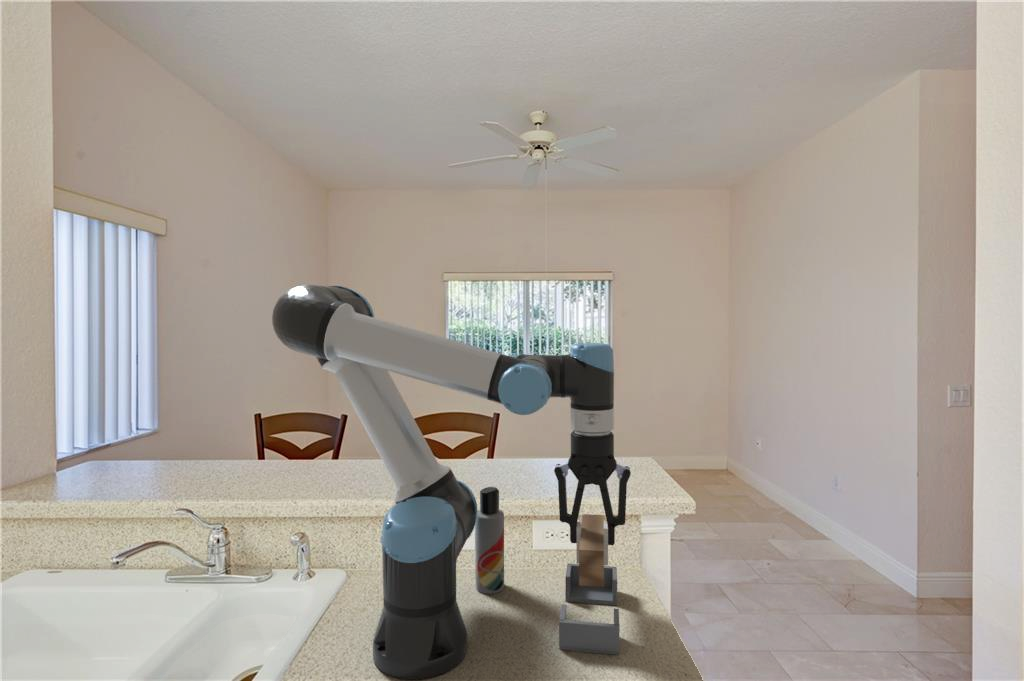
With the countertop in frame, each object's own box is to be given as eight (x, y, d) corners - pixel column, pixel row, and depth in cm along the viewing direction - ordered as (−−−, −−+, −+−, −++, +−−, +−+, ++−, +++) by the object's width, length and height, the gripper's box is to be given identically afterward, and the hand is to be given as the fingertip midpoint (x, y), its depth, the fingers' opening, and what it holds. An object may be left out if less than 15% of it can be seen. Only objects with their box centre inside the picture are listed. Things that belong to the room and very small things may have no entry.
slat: (579, 585, 93) (579, 549, 93) (582, 544, 109) (582, 514, 109) (603, 586, 93) (603, 551, 92) (603, 545, 109) (603, 515, 108)
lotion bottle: (500, 595, 109) (500, 494, 108) (472, 592, 111) (471, 492, 109) (506, 581, 115) (506, 484, 114) (479, 579, 116) (479, 483, 115)
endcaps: (559, 650, 92) (559, 622, 92) (567, 586, 113) (567, 563, 113) (619, 656, 91) (619, 627, 90) (616, 590, 111) (616, 566, 111)
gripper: (541, 434, 97) (542, 567, 99) (643, 437, 95) (642, 574, 96) (545, 425, 105) (546, 549, 106) (640, 427, 102) (640, 554, 103)
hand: (592, 560), depth 101 cm, fingers closed on slat, 4 cm apart
